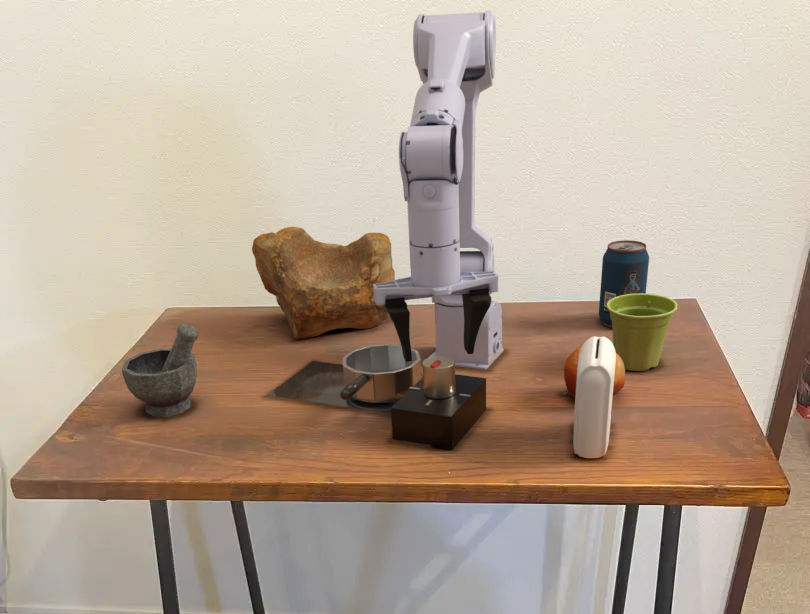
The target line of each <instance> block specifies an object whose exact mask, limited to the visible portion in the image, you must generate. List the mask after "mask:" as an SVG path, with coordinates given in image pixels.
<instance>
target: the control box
mask: <svg viewBox="0 0 810 614" xmlns="http://www.w3.org/2000/svg"><path fill="white" fill-rule="evenodd" d="M455 388H456V392H455V394H454V395H453V396H451V397H448V398H443V399H434V398H429V397H427V396H425V395H424V390H423V378H422V379H421V380H419V381H418V382H417V383H416V384H415V385H414V386H413V387H410V388H409V389H410V390H409V391H408V392H407V393H406V394H405V395H404V396H403V397H402V398H401V399H400V400H398V401H397V402H396V403H395V404H394V405H393V406H392V407H391V414H390V420H391V434H392V440H396V441H402V442H409V443H415V444H420V445H426V446H430V448H435V449H442V450H448V451H453V450H454V449H455V448H456V447H457V445H458V444H459V443H460V442H461V440H462V439H464V437H465V435H467V434H468V432H469V431H470V430H471V429H472V428H473V426H474V425H475V424H476V423H477V421H478V420H479V419H480V418H481V417H482V416H483V414H484V413H485V412H486V411H487V378H486V377H480V376H470V375H463V374H456V373H455Z"/></svg>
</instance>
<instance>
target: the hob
mask: <svg viewBox="0 0 810 614" xmlns="http://www.w3.org/2000/svg"><path fill="white" fill-rule="evenodd" d="M421 378H423V374H421ZM344 388H345V382H344V371H343V363H332V362H325V361H319V360H312V361H310V362H309V363H308V364H307V365H305V366H304V367H302V368H301V369H300V370H299V371H297V372H296V373H295V374H293V375H292V376H290V377H289V378H288V379H287V380H285V381H284V382H282V383H281V384H280V385H278V386H277V387H276V388H275V389H273V390H271V391H270V392H269V393H268V394H267V396H270V397H275V398H282V399H289V400H297V401H301V402H302V401H303V402H308V403H309V402H310V403H317V404H323V405H328V406H329V405H330V406H336V407H343V408H348V409H355V410H363V411H369V412H377V413H382V414H388V415H391V407H392V406H393V405H394V404H391V403H370V402H363V401H360V400H357V399H354V398H349V399H348V400H343V399H342V398H341V397H340V392H341V391H342V390H343V389H344Z"/></svg>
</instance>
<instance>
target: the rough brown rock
mask: <svg viewBox="0 0 810 614" xmlns="http://www.w3.org/2000/svg"><path fill="white" fill-rule="evenodd" d="M251 252H252V254H253V257H254V260H255V267H256V271H257V273H258V275H259V277H260V280H261V282H262V285H263V288H264V290H266V291H267V292H268V294H271V295H272V296H274V297H275V299H276V302H277V305H278V306H279V307H280V309H281V311H282V313H283V314H284V317H286V318H287V322H288V324H289V327H290V330H291V333H292V335H293V338H294V339H295V340H304V339H310V338H315V337H318V336H320V335H322V334H324V333H327V332H329V331H330V332H331V331H332V330H333V331H334V330H338V329H362V330H363V329H364V330H365V329H366V330H367V329H373V328H377V327H378V326H379V325H380V324H381V323H382V322H383V321H385V320H387V318H388V317H390V315H389V313H388V311H387V309H386V308H385V306H384V305H376V303H375V301H374V291H373V284H378V283H385V282H389V281H394V280H396V278H395V277H396V275H395V273H396V271H395V269H394V268H393V267H394V266H393V256H392V242H391V239H390V237H389V236H388V235H387V234H386V233H383V232H367V233H365V234H363V235H362V236H361V237H359V238H358V239H356V240H353V241H351V242H349V243H348V245H347V244H346V245H342V244H337V243H328V242H327V243H326V242H322V241H319V240H316V239H314V238H313V237H312V236H311V235H310V234H309V233H308V232H307V231H306V230H305V229H304V228H302V227H299V226H287V227H283V228H282V229H279V230H277V231H276V233H275V232H273V231H272V232H266V233H262V234H260V235H258V236H257V237H255V238H254V239H253V240H252V246H251Z"/></svg>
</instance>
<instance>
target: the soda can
mask: <svg viewBox="0 0 810 614" xmlns="http://www.w3.org/2000/svg"><path fill="white" fill-rule="evenodd" d="M649 263H650V255H649V253H648V249H647V244H646V243H644V242H642V241H638V240H625V239H624V240H615V241H611V242H609V243H608V244H607V247H606V250H605V252H604V254H603V255H602V262H601V274H600V275H601V276H600V277H601V278H600V290H599V303H598V304H599V305H598V316H599V318H600V320H601V322H602V324H603V325H604V326H606V327H609V328H612V320H611V318H610V311H609V310H608V309H607V303H608V301H609V300H611V299H613V298H615V297H617V296H621V295H626V294H639V293H640V294H641V293H644V294H647V287H648V286H647V285H648V274H649Z"/></svg>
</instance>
